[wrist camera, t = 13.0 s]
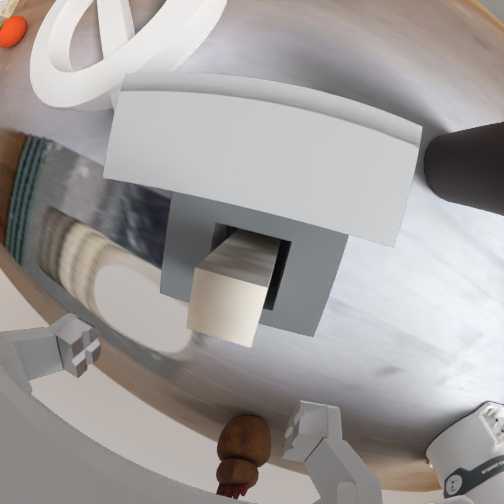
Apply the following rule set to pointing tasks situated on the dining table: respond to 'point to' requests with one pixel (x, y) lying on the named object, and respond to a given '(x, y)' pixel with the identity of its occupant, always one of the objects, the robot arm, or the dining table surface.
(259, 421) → the wooden figurine
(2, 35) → the clementine
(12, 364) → the robot arm
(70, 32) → the ring with crossbar
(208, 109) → the socket block
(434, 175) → the bottle
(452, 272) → the dining table surface
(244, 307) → the peg
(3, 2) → the coffeecake box
